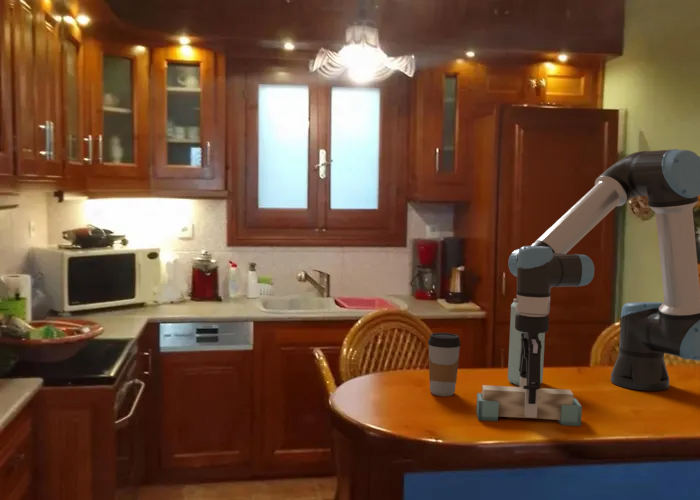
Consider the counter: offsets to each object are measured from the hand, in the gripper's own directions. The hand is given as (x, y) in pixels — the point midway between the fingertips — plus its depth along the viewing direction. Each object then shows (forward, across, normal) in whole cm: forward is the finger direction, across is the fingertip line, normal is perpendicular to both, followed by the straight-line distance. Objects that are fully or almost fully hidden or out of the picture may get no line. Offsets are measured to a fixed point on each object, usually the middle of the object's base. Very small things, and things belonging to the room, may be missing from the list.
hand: (527, 410), depth 167 cm
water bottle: (+2, -33, +4) cm, 33 cm away
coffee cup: (+2, -18, -19) cm, 26 cm away
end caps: (+2, 0, 0) cm, 2 cm away
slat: (+1, 0, 0) cm, 1 cm away
